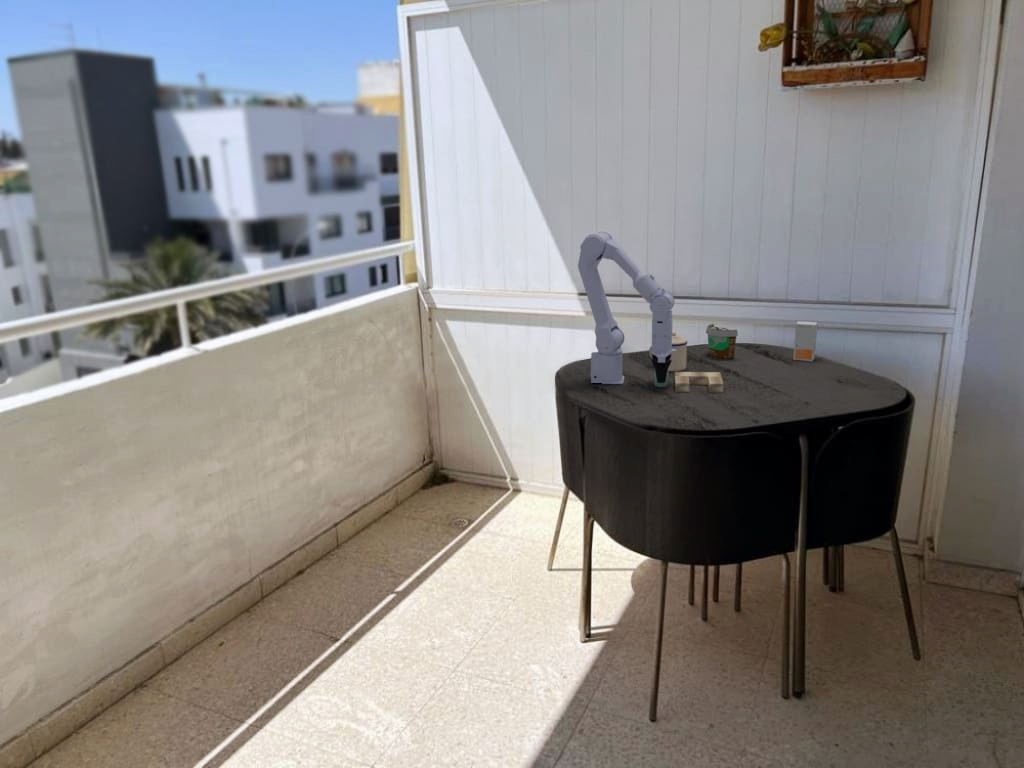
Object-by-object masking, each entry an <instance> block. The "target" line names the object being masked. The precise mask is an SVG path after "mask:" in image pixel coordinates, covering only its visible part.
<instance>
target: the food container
mask: <svg viewBox="0 0 1024 768" xmlns="http://www.w3.org/2000/svg"><path fill="white" fill-rule="evenodd" d="M705 333H706V335H707V344H708V348H707V349H708V356H710V357H709V358H711V357H712V358H711V359H714V358H716V359H715V360H722V359H728V360H734V358H735V351H736V343H737V337H738V335H739V334H738V329H728V328H726V327H717V326H715V323H711V324H708V325H707V327H706V330H705Z"/></svg>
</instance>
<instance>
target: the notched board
mask: <svg viewBox="0 0 1024 768" xmlns="http://www.w3.org/2000/svg"><path fill="white" fill-rule="evenodd" d="M691 385H692V386H693V385H698V386H699V385H700V386H701V385H702V386H703V385H706V386H707V387H708V393H724V381H723V378H722V375H721V372H720V371H719V372H715V371H714V372H710V371H709V372H707V371H706V372H705V371H702V372H701V371H700V372H698V371H696V372H695V371H674V387H675V388H674V389H675V390H674V391H675V392H676V393H679V392H680V393H689V392H690V386H691Z"/></svg>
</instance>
